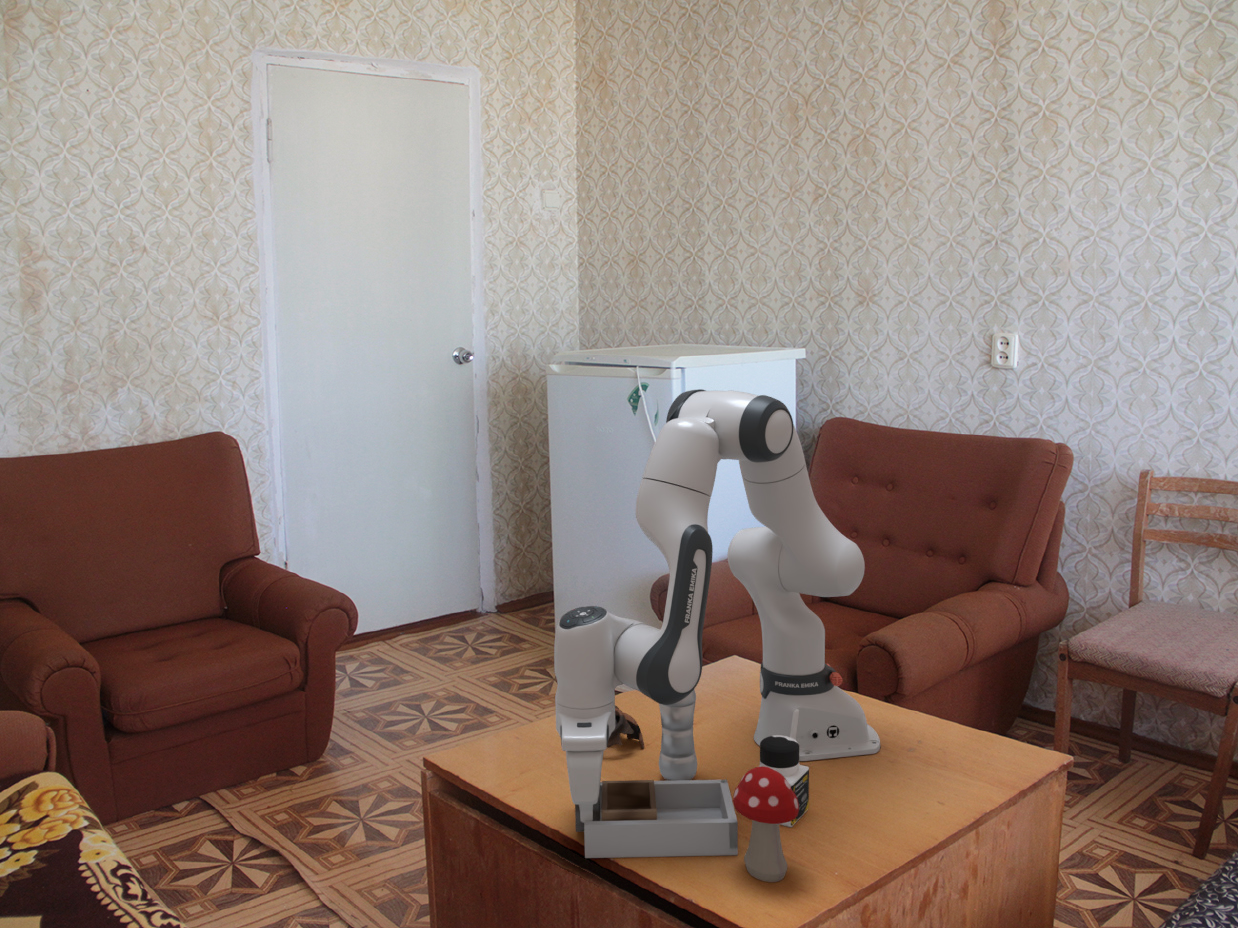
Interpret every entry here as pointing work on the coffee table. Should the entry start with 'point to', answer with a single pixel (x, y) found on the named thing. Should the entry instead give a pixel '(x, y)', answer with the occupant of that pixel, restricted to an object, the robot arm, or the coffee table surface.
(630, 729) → the broken clay pot
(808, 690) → the robot arm
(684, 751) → the plastic bottle
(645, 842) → the bay
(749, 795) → the decorative mushroom
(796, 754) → the medicine bottle
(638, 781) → the crate
